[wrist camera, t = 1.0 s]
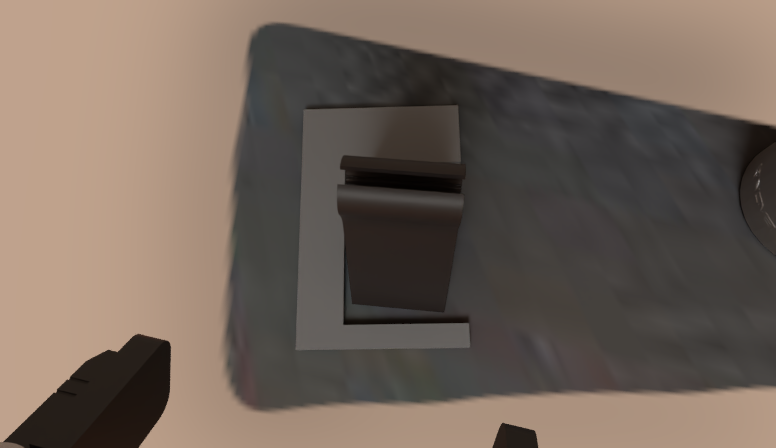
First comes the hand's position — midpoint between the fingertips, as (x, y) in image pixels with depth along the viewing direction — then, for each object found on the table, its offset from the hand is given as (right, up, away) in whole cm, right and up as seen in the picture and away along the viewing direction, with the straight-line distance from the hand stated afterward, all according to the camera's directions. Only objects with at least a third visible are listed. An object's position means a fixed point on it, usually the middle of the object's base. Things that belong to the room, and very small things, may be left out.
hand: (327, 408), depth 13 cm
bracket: (+1, +4, +25) cm, 25 cm away
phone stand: (+3, +3, +25) cm, 25 cm away
